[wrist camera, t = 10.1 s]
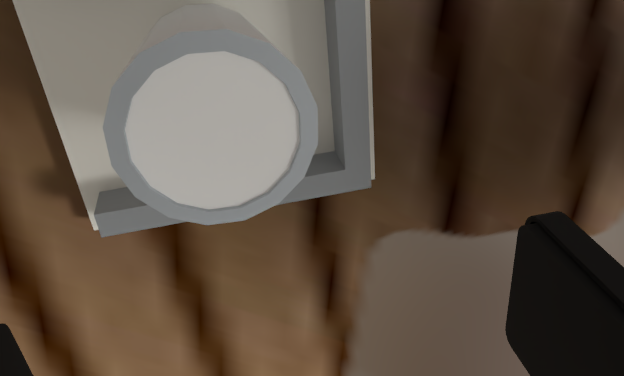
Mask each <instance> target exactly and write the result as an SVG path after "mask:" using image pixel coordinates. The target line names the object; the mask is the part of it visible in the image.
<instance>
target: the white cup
mask: <svg viewBox="0 0 624 376" xmlns="http://www.w3.org/2000/svg"><path fill="white" fill-rule="evenodd" d="M103 131H104V136H105V140H106V144H107V149H108V153H109V157H110V161H111V166H112V167H113V169H114V170H115V171H116V173H117V174H118V175H119V177H120V178H121V179H122V181H123V182H124V183H125V185H126V186H127V187H128V188H129V190H130V191H131V192H132V194H133V195H134V196H135V198H137V199H139V200H140V201H142V202H144V203H145V204H147V205H149V206H150V207H152V208H154V209H155V210H157V211H159V212H160V213H162V214H164V215H165V216H167V217H169V218H173V219H178V220H183V221H188V222H193V223H198V224H203V225H213V224H221V223H228V222H236V221H244V220H247V219H249V218H251V217H253V216H255V215H257V214H259V213H261V212H263V211H265V210H267V209H269V208H271V207H273V206H275V205H277V204H279V203H280V202H281V201H282V200H283V199H284V198H285V197H286V196H287V195H288V194H289V193H290V192H291V191H292V190H293V188H294V187H295V186H296V185H297V184H298V183H299V182H300V181H301V180H302V179H303V178H304V177H305V174H306V172H307V169H308V167H309V165H310V162H311V160H312V157H313V155H314V152H315V150H316V148H317V145H318V106H317V104H316V102H315V100H314V98H313V96H312V93H311V91H310V89H309V87H308V85H307V83H306V81H305V78H304V76H303V74H302V72H301V70H300V69H298V68H297V67H296V66H295V65H294V64H293V63H292V62H291V61H290V60H289V59H288V58H287V57H286V56H285V55H284V54H283V53H282V52H281V51H280V50H279V49H278V48H277V47H276V46H275V45H273V44H272V43H271V42H270V41H269V40H268V39H267V38H266V37H265V36H264V35H263V34H262V33H261V32H260V31H259V30H258V29H257V28H256V27H254V26H253V25H252V24H251V23H250V22H249V21H248V20H246V19H245V18H244V17H243V16H242V15H241V14H240V13H239V12H236V11H233V10H230V9H227V8H224V7H221V6H218V5H216V4H213V3H212V4H196V5H184V6H182V7H180V8H178V9H177V10H175V11H173V12H171V13H169V14H167V15H165V16H163V17H161V18H160V19H159V20H158V22H157V23H156V24H155V25H154V27H153V28H152V29H151V31H150V32H149V33H148V34H147V36H146V37H145V38H144V40H143V41H142V43H141V44H140V46H139V47H138V49H137V50H136V52H135V53H134V55H133V56H132V58H131V59H130V61H129V62H128V64H127V65H126V67H125V68H124V70H123V71H122V73H121V74H120V76H119V77H118V79H117V80H116V82H115V83H114V85H113V86H112V88H111V93H110V97H109V102H108V106H107V110H106V115H105V119H104V124H103Z"/></svg>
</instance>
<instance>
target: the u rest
mask: <svg viewBox="0 0 624 376" xmlns="http://www.w3.org/2000/svg"><path fill="white" fill-rule="evenodd" d="M12 1H13V4H14V7H15V9H16V12H17V15H18V18H19V21H20V23H21V26H22V29H23V32H24V35H25V37H26V40H27V43H28V46H29V49H30V52H31V54H32V57H33V60H34V63H35V66H36V68H37V71H38V74H39V77H40V80H41V82H42V85H43V88H44V91H45V94H46V97H47V99H48V102H49V105H50V108H51V111H52V113H53V116H54V119H55V122H56V125H57V127H58V130H59V133H60V136H61V139H62V142H63V144H64V147H65V150H66V153H67V156H68V158H69V161H70V164H71V167H72V170H73V172H74V175H75V178H76V181H77V184H78V187H79V189H80V192H81V195H82V198H83V201H84V203H85V206H86V209H87V212H88V215H89V218H90V220H91V223H92V226H93V229H94V230H99V232H100V235H101V237H107V236H112V235H117V234H123V233H128V232H134V231H139V230H144V229H150V228H155V227H161V226H166V225H171V224H177V223H182V222H188V221H183V220H178V219H173V218H169V217H167V216H165V215H164V214H162V213H160V212H159V211H157V210H155V209H154V208H152V207H150V206H149V205H147V204H145V203H144V202H142V201H140V200H139V199H137V198H135V196H134V195H133V194H132V192H131V191H130V190H129V188H128V187H127V186H126V185H125V183H124V182H123V181H122V179H121V178H120V177H119V175H118V174H117V173H116V171H115V170H114V169H113V167H112V166H111V161H110V157H109V153H108V149H107V144H106V140H105V136H104V131H103V124H104V119H105V115H106V110H107V106H108V102H109V97H110V93H111V88H112V86H113V85H114V83H115V82H116V80H117V79H118V77H119V76H120V74H121V73H122V71H123V70H124V68H125V67H126V65H127V64H128V62H129V61H130V59H131V58H132V56H133V55H134V53H135V52H136V50H137V49H138V47H139V46H140V44H141V43H142V41H143V40H144V38H145V37H146V36H147V34H148V33H149V32H150V31H151V29H152V28H153V27H154V25H155V24H156V23H157V22H158V20H159V19H160V18H161V17H163V16H165V15H167V14H169V13H171V12H173V11H175V10H177V9H178V8H180V7H182V6H184V5H196V4H212V3H213V4H216V5H218V6H221V7H224V8H227V9H230V10H233V11H236V12H239V13H240V14H241V15H242V16H243V17H244V18H245V19H246V20H248V21H249V22H250V23H251V24H252V25H253V26H254V27H256V28H257V29H258V30H259V31H260V32H261V33H262V34H263V35H264V36H265V37H266V38H267V39H268V40H269V41H270V42H271V43H272V44H273V45H275V46H276V47H277V48H278V49H279V50H280V51H281V52H282V53H283V54H284V55H285V56H286V57H287V58H288V59H289V60H290V61H291V62H292V63H293V64H294V65H295V66H296V67H297V68H298V69H300V70H301V72H302V74H303V76H304V78H305V81H306V83H307V85H308V87H309V89H310V91H311V93H312V96H313V98H314V100H315V102H316V104H317V106H318V145H317V148H316V150H315V152H314V155H313V157H312V160H311V162H310V165H309V167H308V169H307V172H306V174H305V177H304V178H303V179H302V180H301V181H300V182H299V183H298V184H297V185H296V186H295V187H294V188H293V190H292V191H291V192H290V193H289V194H288V195H287V196H286V197H285V198H284V199H283V200H282V201H281V202H280V203H279V204H277V205H280V204H285V203H290V202H296V201H301V200H307V199H312V198H317V197H323V196H328V195H334V194H339V193H344V192H350V191H355V190H361V189H366V188H371V180H373V179H375V160H374V126H373V92H372V57H371V23H370V0H12Z"/></svg>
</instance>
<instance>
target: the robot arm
mask: <svg viewBox="0 0 624 376" xmlns="http://www.w3.org/2000/svg"><path fill="white" fill-rule="evenodd" d="M507 313H508V314H507V321H506V335H507V339H508V342H509V344H510V346H511V347H512V349H513V351H514V352H515V354H516V355H517V356H518V358H519V359H520V361H521V362H522V364H523V365H524V367H525V368H526V370H527V371H528V373H529V374H530V376H624V267H623V266H622V265H620V264H619V263H618V262H617V261H616V260H615V259H614V258H613V257H612V256H611V255H609V254H608V253H607V252H606V251H605V250H604V249H603V248H602V247H601V246H600V245H598V244H597V243H596V242H595V241H594V240H593V239H592V238H591V237H590V236H588V235H587V234H586V233H585V232H584V231H583V230H582V229H581V228H580V227H579V226H577V225H576V224H575V223H574V222H573V221H572V220H571V219H570V218H569V217H568V216H566V215H565V214H564V213H562V212H558V211H557V212H551V213H546V214H541V215H535V216H531V217H529V218H528V219H527V220H526V223H525V225H523V226H521V227H520V228H519V230H518V236H517V244H516V251H515V259H514V266H513V274H512V282H511V290H510V297H509V305H508V312H507ZM0 376H33V374H32V372H31V370H30V368H29V366H28V364H27V362H26V360H25V358H24V356H23V354H22V352H21V350H20V348H19V346H18V344H17V343H16V341H15V339H14V337H13V335H12V333H11V331H10V329H9V327H8V326H7V325H6V324H0Z"/></svg>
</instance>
